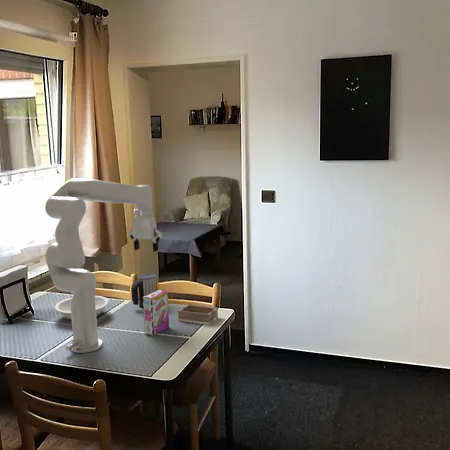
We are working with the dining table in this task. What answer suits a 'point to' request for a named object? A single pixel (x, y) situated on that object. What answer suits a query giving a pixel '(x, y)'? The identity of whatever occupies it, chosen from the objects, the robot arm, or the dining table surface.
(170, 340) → the dining table surface
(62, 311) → the soup bowl
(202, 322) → the open wooden box
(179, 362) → the dining table surface
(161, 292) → the candy bar box
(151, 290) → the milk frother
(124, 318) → the dining table surface
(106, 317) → the dining table surface
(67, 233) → the robot arm
